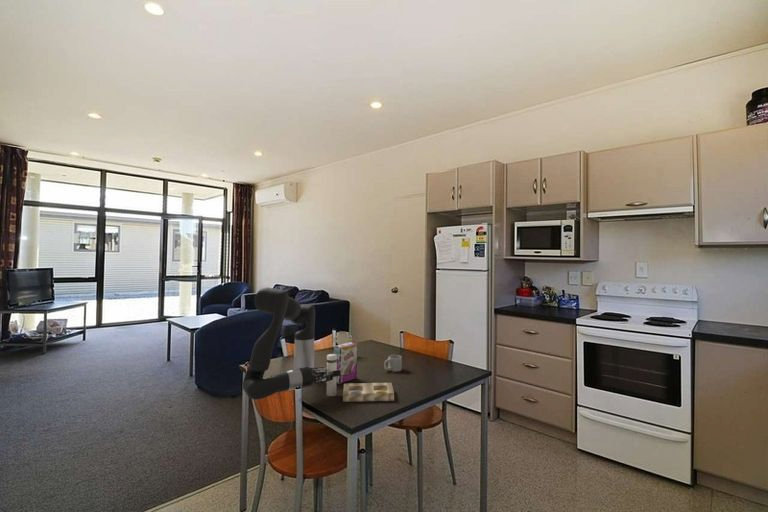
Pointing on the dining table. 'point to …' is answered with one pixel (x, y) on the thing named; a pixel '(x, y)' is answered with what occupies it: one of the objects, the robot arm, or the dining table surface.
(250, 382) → the robot arm
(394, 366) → the mug
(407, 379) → the dining table surface
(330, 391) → the white tall cylinder
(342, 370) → the candy bar box
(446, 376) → the dining table surface
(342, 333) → the character mug
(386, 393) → the socket board
